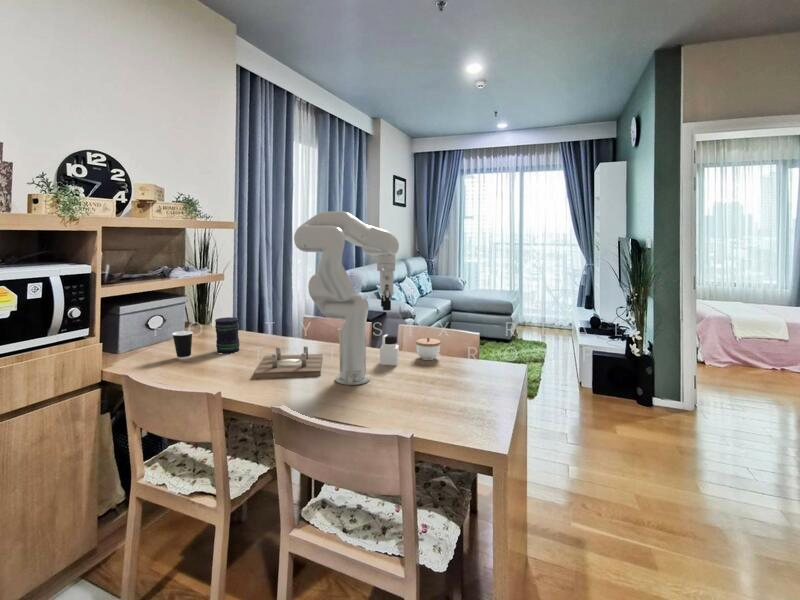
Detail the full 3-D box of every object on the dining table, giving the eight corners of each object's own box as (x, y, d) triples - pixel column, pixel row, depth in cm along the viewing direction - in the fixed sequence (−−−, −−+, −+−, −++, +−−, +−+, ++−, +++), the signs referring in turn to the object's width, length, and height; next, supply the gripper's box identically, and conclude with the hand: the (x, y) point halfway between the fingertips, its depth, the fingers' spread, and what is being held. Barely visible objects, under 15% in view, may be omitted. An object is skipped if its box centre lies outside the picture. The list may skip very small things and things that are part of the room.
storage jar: (217, 349, 196) (216, 317, 194) (240, 348, 199) (239, 316, 197) (215, 354, 187) (213, 321, 185) (239, 353, 189) (237, 320, 187)
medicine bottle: (398, 360, 180) (399, 333, 178) (397, 365, 173) (397, 337, 171) (382, 360, 181) (382, 332, 179) (379, 365, 174) (379, 336, 172)
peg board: (320, 375, 159) (320, 357, 158) (254, 378, 155) (253, 359, 154) (322, 358, 182) (322, 342, 181) (265, 360, 179) (264, 344, 178)
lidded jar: (413, 360, 180) (413, 339, 179) (418, 354, 191) (418, 334, 190) (438, 362, 178) (438, 340, 177) (441, 356, 188) (442, 335, 187)
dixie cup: (198, 356, 184) (197, 331, 182) (182, 361, 176) (181, 335, 175) (185, 354, 187) (183, 330, 185) (169, 359, 180) (167, 333, 178)
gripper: (397, 268, 165) (397, 311, 167) (393, 266, 182) (392, 305, 184) (378, 268, 164) (378, 311, 166) (375, 266, 181) (375, 305, 184)
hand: (385, 308), depth 175 cm, fingers open, 9 cm apart
